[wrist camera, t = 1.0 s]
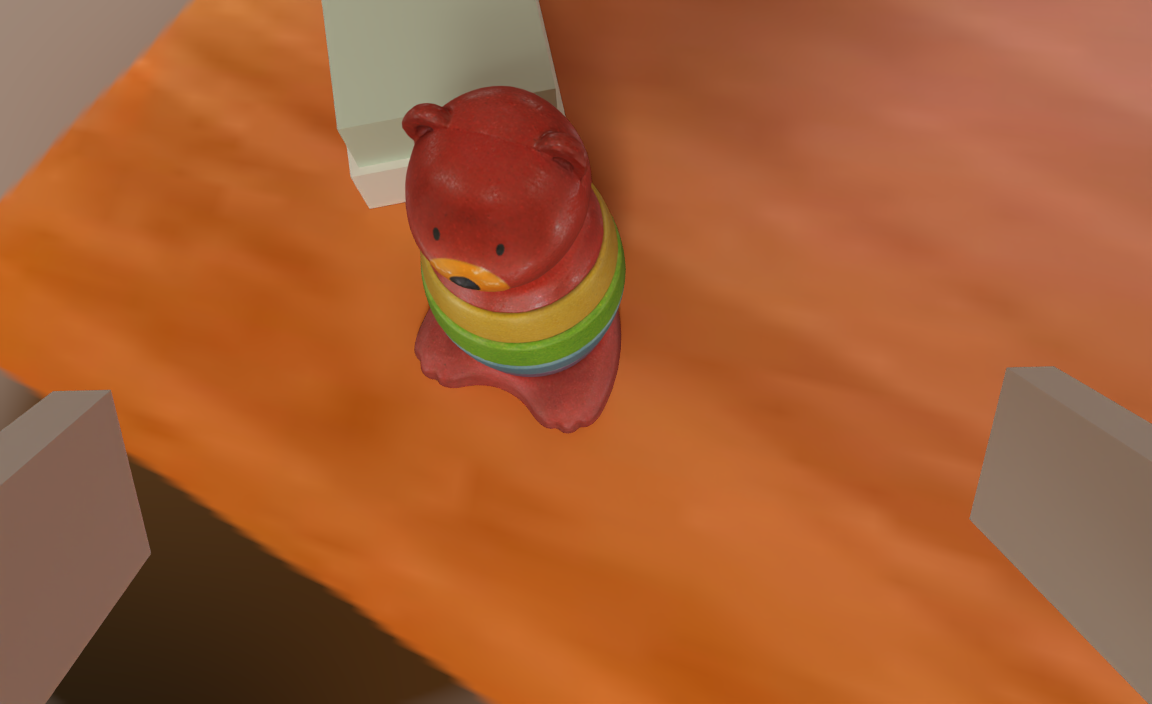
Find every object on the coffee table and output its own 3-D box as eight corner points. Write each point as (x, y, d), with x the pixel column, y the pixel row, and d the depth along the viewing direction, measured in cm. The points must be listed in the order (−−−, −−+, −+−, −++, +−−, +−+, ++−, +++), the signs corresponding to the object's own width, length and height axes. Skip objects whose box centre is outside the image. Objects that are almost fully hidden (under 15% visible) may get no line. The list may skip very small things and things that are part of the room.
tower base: (529, -18, 48) (518, -115, 42) (571, 169, 44) (567, 94, 37) (344, 16, 48) (303, -77, 41) (369, 208, 44) (328, 139, 37)
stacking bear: (404, 371, 41) (265, 214, 24) (482, 215, 43) (407, -25, 26) (589, 446, 39) (582, 336, 22) (657, 279, 42) (698, 68, 25)
